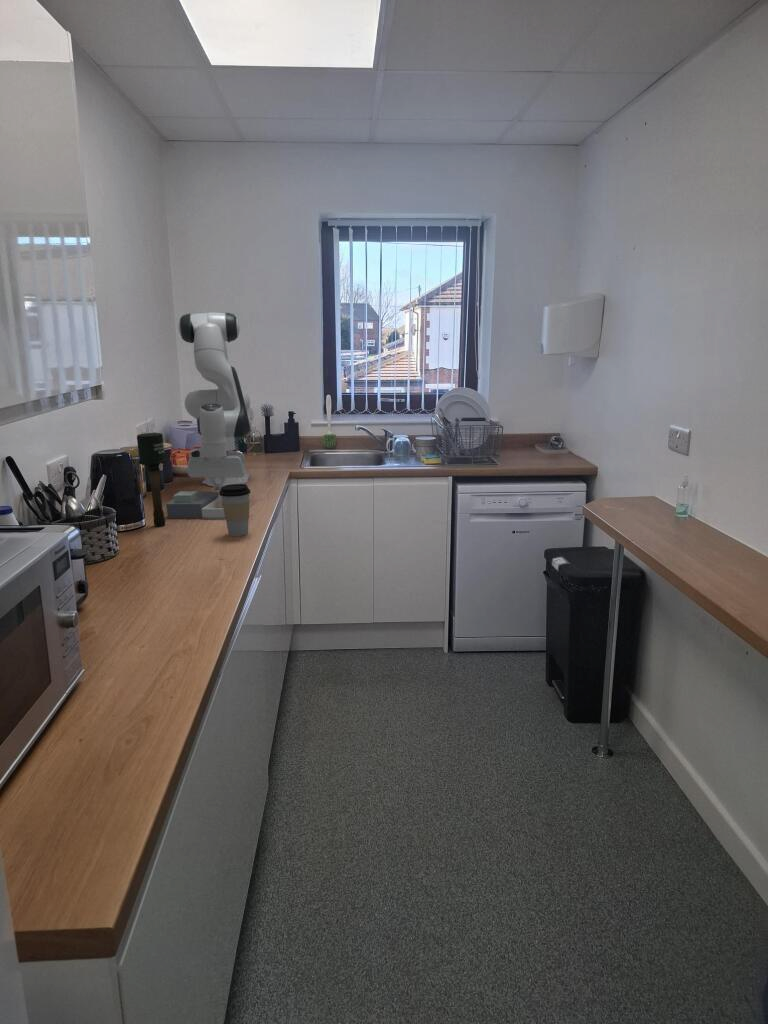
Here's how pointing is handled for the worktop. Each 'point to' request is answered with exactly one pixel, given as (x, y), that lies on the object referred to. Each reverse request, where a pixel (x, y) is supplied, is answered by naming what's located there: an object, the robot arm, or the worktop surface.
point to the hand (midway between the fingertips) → (218, 489)
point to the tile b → (185, 497)
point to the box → (213, 510)
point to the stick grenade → (153, 468)
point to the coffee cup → (236, 508)
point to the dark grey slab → (191, 506)
